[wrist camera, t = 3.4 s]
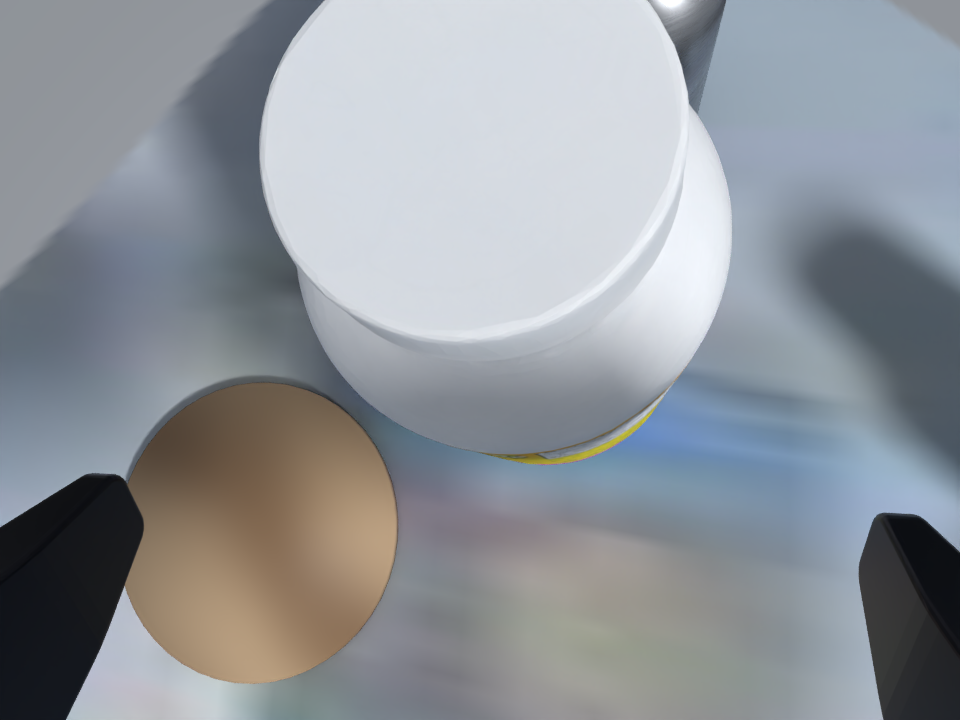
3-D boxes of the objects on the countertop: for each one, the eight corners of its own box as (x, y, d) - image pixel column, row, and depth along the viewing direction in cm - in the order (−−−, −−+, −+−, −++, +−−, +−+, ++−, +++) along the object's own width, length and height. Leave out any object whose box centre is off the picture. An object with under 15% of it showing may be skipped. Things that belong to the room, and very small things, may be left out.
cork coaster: (311, 739, 20) (307, 742, 19) (75, 590, 21) (68, 591, 21) (449, 461, 20) (446, 461, 20) (209, 338, 22) (204, 336, 22)
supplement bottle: (386, 305, 21) (79, 47, 9) (588, 182, 21) (566, -268, 9) (504, 515, 20) (336, 562, 7) (724, 386, 20) (940, 204, 7)
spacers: (1254, 694, 17) (1706, 837, 10) (322, 259, 22) (195, 155, 15) (1403, 310, 17) (1920, 196, 11) (467, -21, 23) (410, -240, 16)
